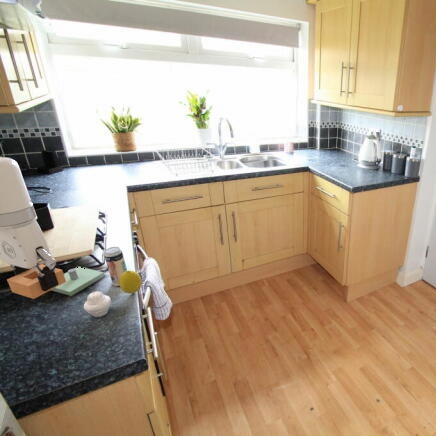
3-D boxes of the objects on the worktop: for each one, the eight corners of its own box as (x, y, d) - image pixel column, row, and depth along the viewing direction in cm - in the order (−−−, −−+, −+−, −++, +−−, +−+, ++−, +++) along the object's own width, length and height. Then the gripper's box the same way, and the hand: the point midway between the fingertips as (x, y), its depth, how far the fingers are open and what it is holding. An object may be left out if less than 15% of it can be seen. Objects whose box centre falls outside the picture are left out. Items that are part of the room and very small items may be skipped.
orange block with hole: (33, 299, 72) (28, 286, 70) (12, 292, 74) (6, 279, 72) (66, 281, 78) (62, 269, 77) (45, 275, 80) (41, 264, 79)
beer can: (111, 281, 102) (101, 249, 97) (128, 276, 105) (119, 244, 100) (114, 289, 99) (104, 255, 94) (131, 283, 101) (122, 250, 97)
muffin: (84, 313, 88) (76, 293, 85) (109, 303, 92) (102, 283, 90) (91, 324, 84) (84, 303, 82) (117, 312, 89) (110, 292, 86)
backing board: (71, 296, 95) (66, 283, 93) (44, 288, 98) (39, 276, 96) (105, 276, 105) (101, 264, 103) (79, 270, 107) (76, 258, 106)
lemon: (147, 292, 98) (141, 269, 94) (128, 301, 93) (122, 278, 90) (138, 285, 100) (132, 263, 97) (119, 294, 96) (112, 272, 93)
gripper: (-37, 216, 68) (-5, 285, 75) (19, 229, 63) (47, 301, 70) (6, 204, 74) (31, 269, 81) (59, 215, 70) (81, 283, 77)
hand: (38, 283), depth 76 cm, fingers closed on orange block with hole, 7 cm apart
